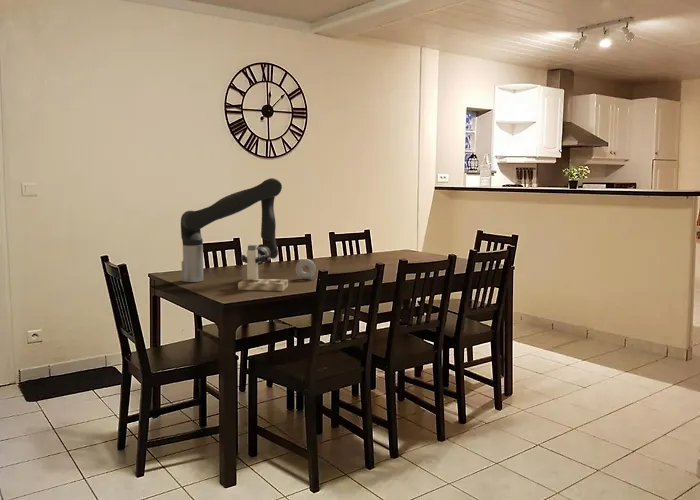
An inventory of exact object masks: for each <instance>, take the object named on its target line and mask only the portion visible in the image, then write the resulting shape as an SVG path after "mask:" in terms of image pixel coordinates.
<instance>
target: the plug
mask: <svg viewBox="0 0 700 500" xmlns="http://www.w3.org/2000/svg"><path fill="white" fill-rule="evenodd" d="M257 247H258V245H257V244H248V245H247V250H246V257H247V263H246V270H247V271H246V275H247V278H246V279H249V280H256V279H259V265H258V263H255V258H257V257H258V249H257Z"/></svg>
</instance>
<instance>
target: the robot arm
mask: <svg viewBox="0 0 700 500" xmlns="http://www.w3.org/2000/svg"><path fill="white" fill-rule="evenodd" d="M282 186H283V185H282V183H281V180H280V181H279V179H276V178H272V177H271V178H267V179H266V180H264V181H262V182H260V183H259V184H258V185H255V186H253V187H250V188H247V189H243V190H240V191H237V192H234V193H231V194H228V195H226V196H224V197H222V198H220V199H219V200H217V201H216V202H214V203H213V204H211V205H209V206H207V207H203V208H202V209H198V210H186V211H185V212H183V213H182V215H181V217H180V236H181V240H182V241H181V242H182V261H181V282H186V283H198V282H203V281H204V246H203V245H204V241H203V238H202V237H203V236H202V234H201V229H203V228H205V227H206V226H208V225H210V224H211V223H213V222H215V221H219V220H221V219H225V218H227V217H230V216H232V215H235V214H238V213H240V212H242V211H243V210H246V209H248V208H250V207H252V206H253V205H255V204H257V203H258V202H261V226H260V227H261V228H260V229H261V230H260V238H261V239H263V240H266V241H268V242H269V243H270V244H267V243H266V244H264V243H263V244H261V243H260V244H258V245H257V249H258V257H257V258H255V263H258V266H260V265H262V264H264V263H266V262H271V260H274V259H276V258H277V257H278V255H279V248H278V245H277V240H276V227H277V223H276V216H275V210H274V208H275V207H274V206H275V204H274V203H275V199H276V197H277V196H279V195H280V193H281V191H282V189H283V187H282ZM241 262H242V263H245V264H247V256H246V255H245V254H241Z"/></svg>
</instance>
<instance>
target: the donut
mask: <svg viewBox="0 0 700 500" xmlns="http://www.w3.org/2000/svg"><path fill="white" fill-rule="evenodd" d="M305 266H306V267H307V268H308V271H307V272H306V271H304V270H303V268H304V267H305ZM316 271H317V267H316V264H315V262H314V261H313V260H311V259H308V258H304V259H303V258H302V259H301V260H299V261H298V262H297V263H296V266H295V273H296V275H297V277H299V278H301V279H303V280H309V279H311V278H313V277H314V276H315V274H316Z"/></svg>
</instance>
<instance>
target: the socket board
mask: <svg viewBox="0 0 700 500" xmlns="http://www.w3.org/2000/svg"><path fill="white" fill-rule="evenodd" d="M288 287H289V279H282V278H281V279H279V278H278V279H276V278H273V279H272V278H258V279H256V280H249V279H247V278H244V279H242V280H240V281H239V282H237V290H238V291H279V292H281V291H284V290H286V289H287V288H288Z"/></svg>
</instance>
